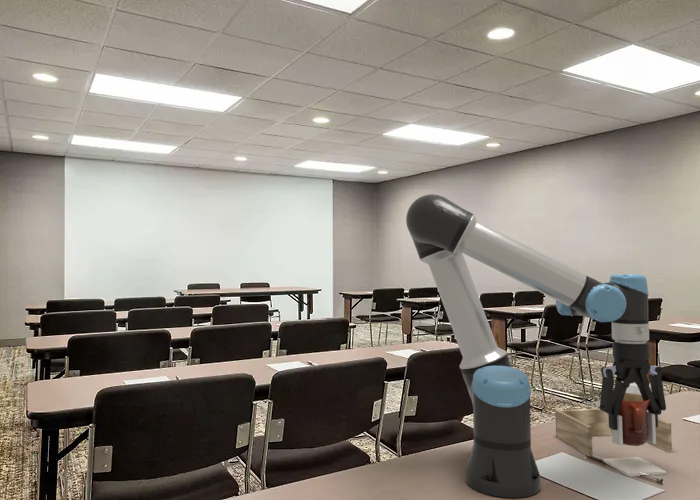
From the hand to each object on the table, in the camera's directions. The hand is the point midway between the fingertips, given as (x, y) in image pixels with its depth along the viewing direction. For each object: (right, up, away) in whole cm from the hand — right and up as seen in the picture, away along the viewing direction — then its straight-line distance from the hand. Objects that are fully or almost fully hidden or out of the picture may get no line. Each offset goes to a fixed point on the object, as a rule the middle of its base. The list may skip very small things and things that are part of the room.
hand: (634, 442), depth 118 cm
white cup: (+24, -7, +41) cm, 48 cm away
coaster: (0, -6, 0) cm, 6 cm away
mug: (-1, -1, 0) cm, 1 cm away
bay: (+3, -6, +16) cm, 17 cm away
